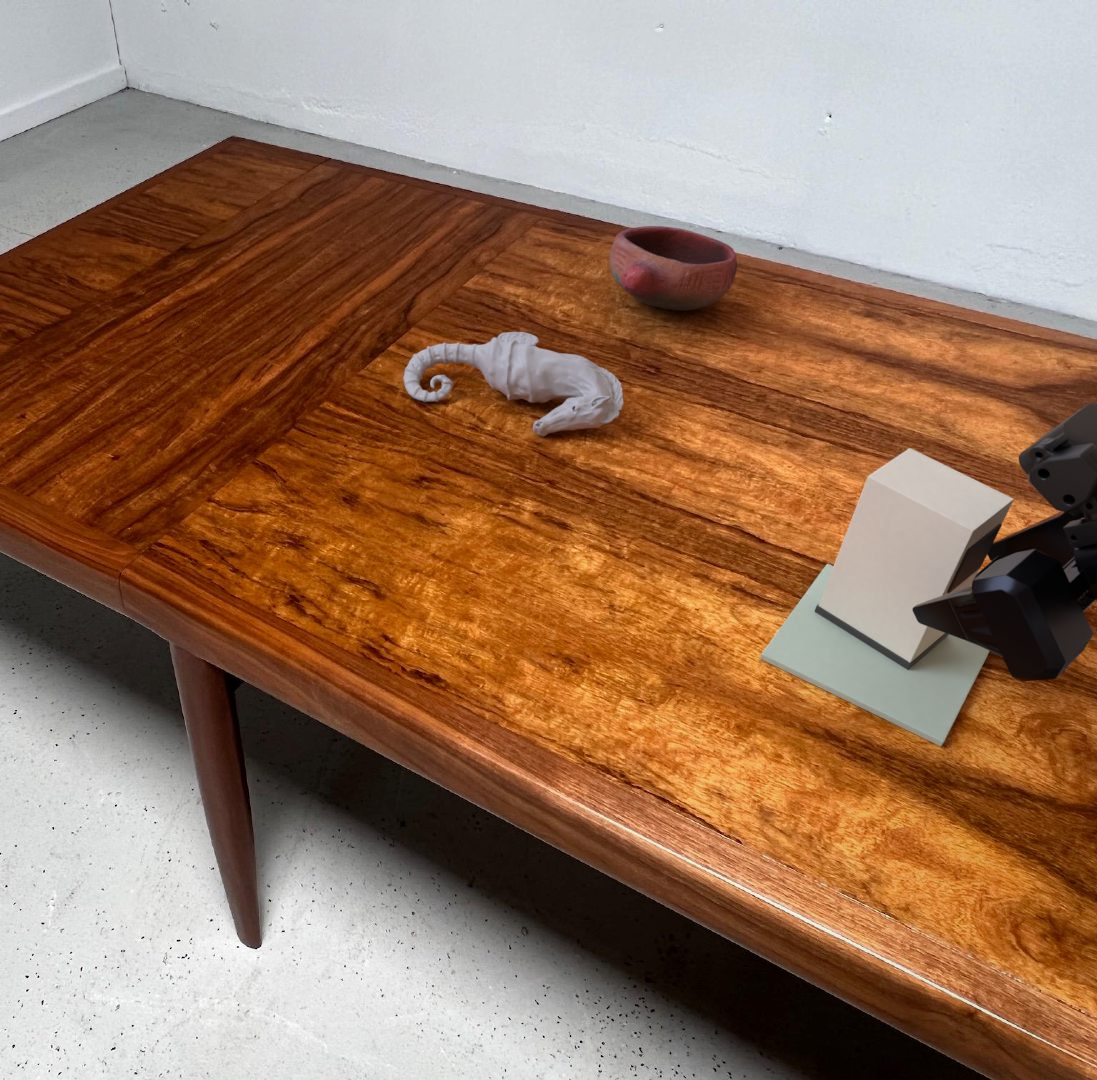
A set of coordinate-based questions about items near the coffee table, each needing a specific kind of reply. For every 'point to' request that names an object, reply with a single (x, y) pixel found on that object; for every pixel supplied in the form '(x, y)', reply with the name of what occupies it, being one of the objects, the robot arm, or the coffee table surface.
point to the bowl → (672, 267)
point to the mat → (876, 669)
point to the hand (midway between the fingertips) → (953, 583)
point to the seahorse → (527, 379)
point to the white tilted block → (909, 552)
